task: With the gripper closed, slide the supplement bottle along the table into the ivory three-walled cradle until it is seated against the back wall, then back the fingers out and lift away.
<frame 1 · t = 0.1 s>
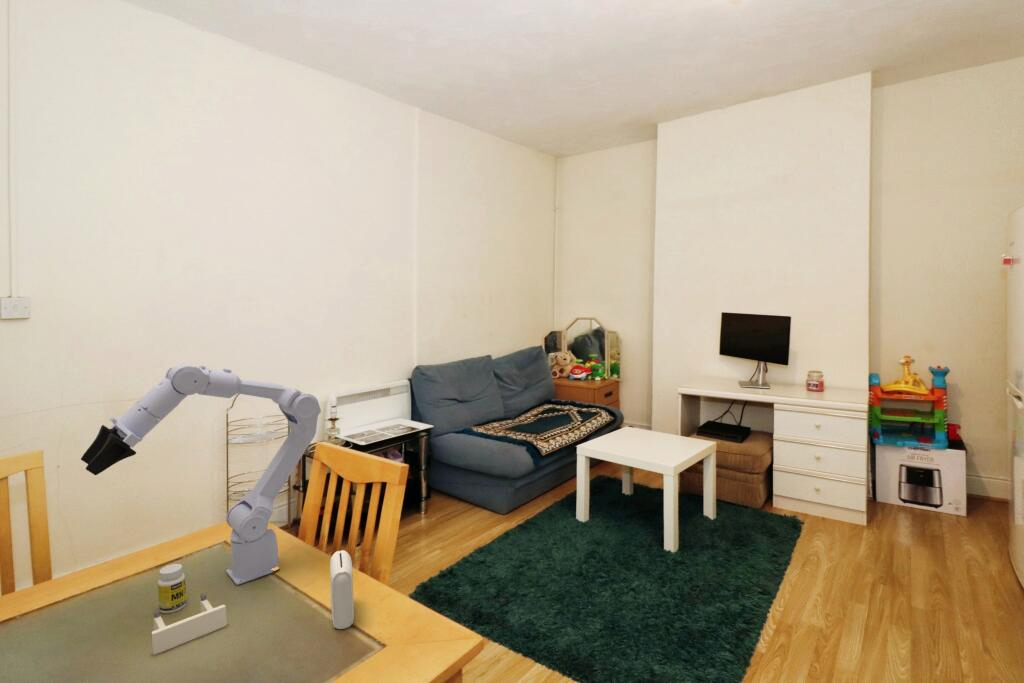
hand: (87, 467, 101), 32 cm above the table, tool tilted 50°, fingers open, 7 cm apart
supplement bottle: (173, 607, 110), on the table
photo printer: (342, 615, 107), on the table
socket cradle: (185, 628, 103), on the table
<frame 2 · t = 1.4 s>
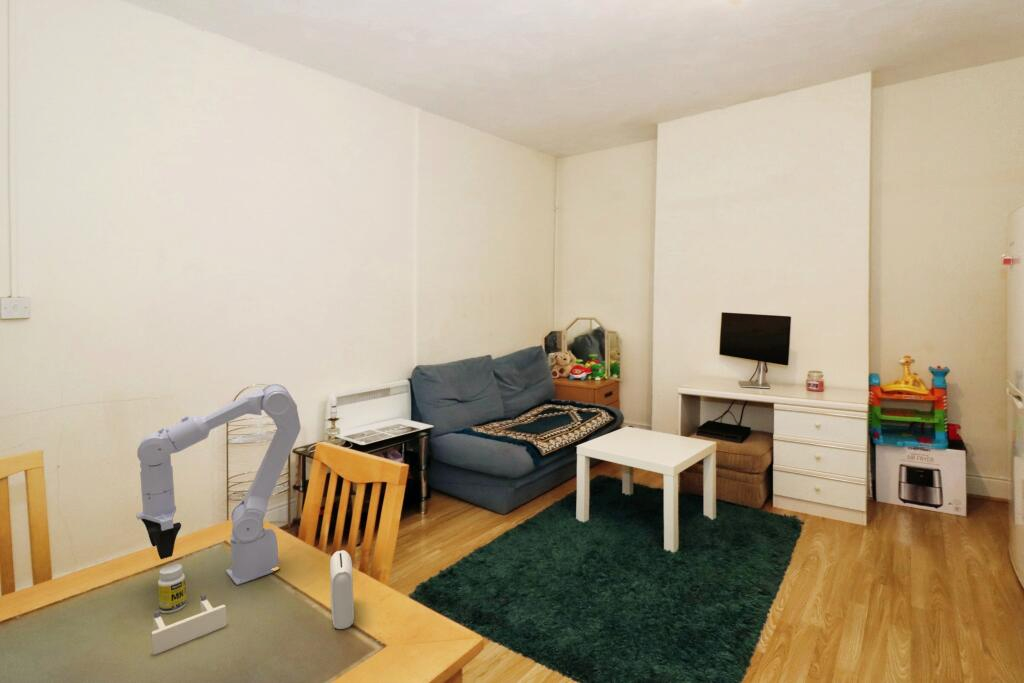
hand: (162, 550, 114), 9 cm above the table, tool pointing down, fingers open, 7 cm apart
nothing on the table moved.
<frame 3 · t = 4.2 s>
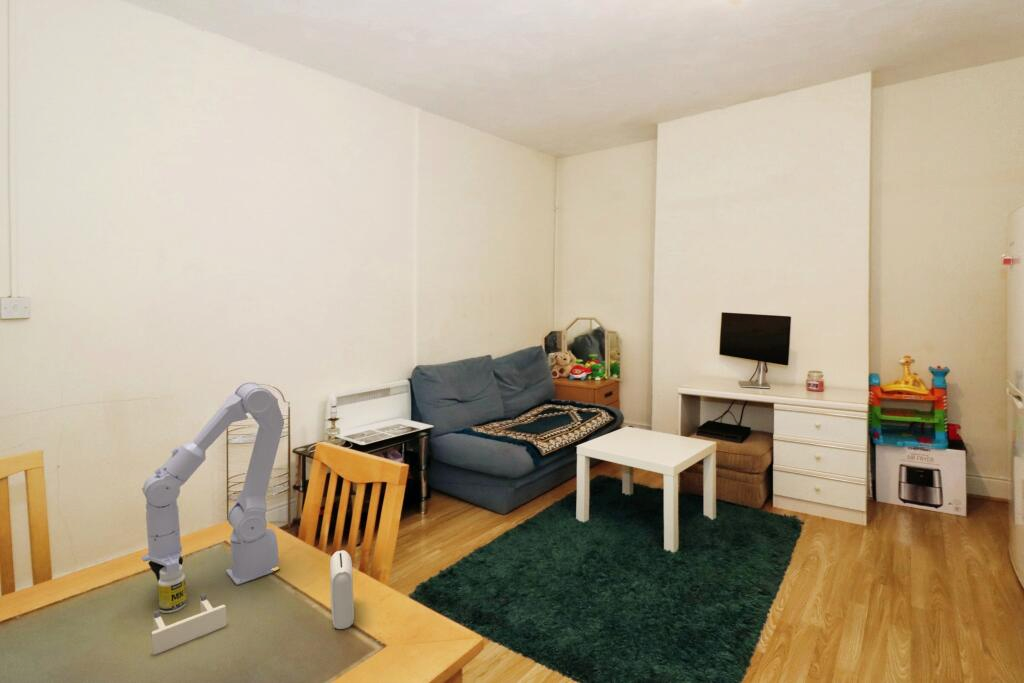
hand: (167, 591, 113), 1 cm above the table, tool pointing down, fingers closed
supplement bottle: (173, 607, 110), on the table, touching gripper
everything else where it was.
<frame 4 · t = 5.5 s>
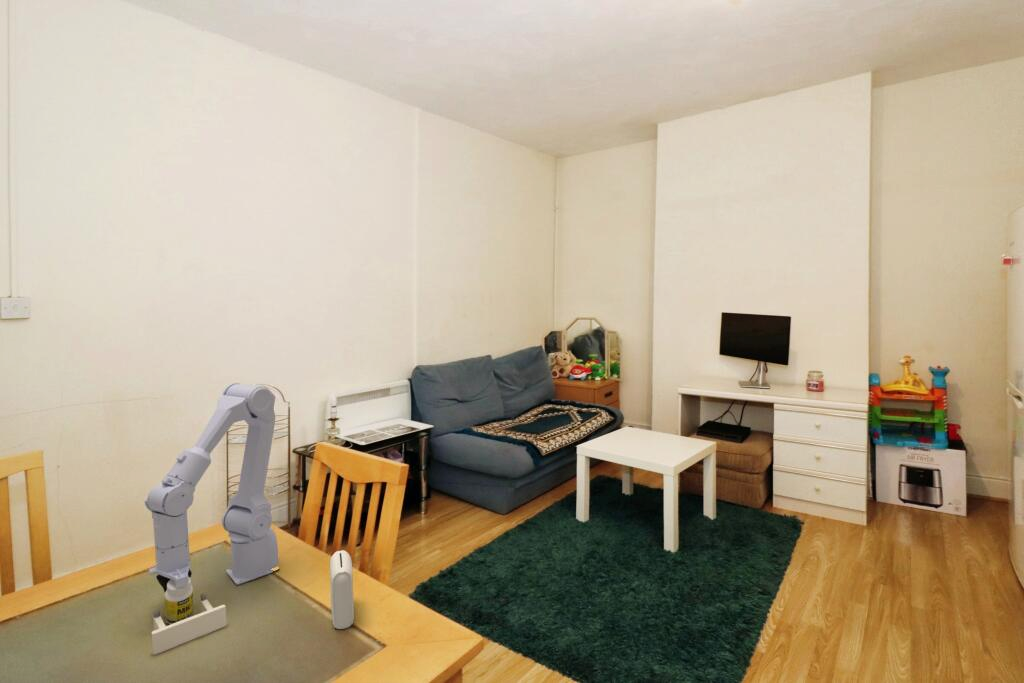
hand: (176, 606, 108), 1 cm above the table, tool pointing down, fingers closed, pressing on supplement bottle
supplement bottle: (179, 616, 106), on the table, touching gripper
everything else where it was.
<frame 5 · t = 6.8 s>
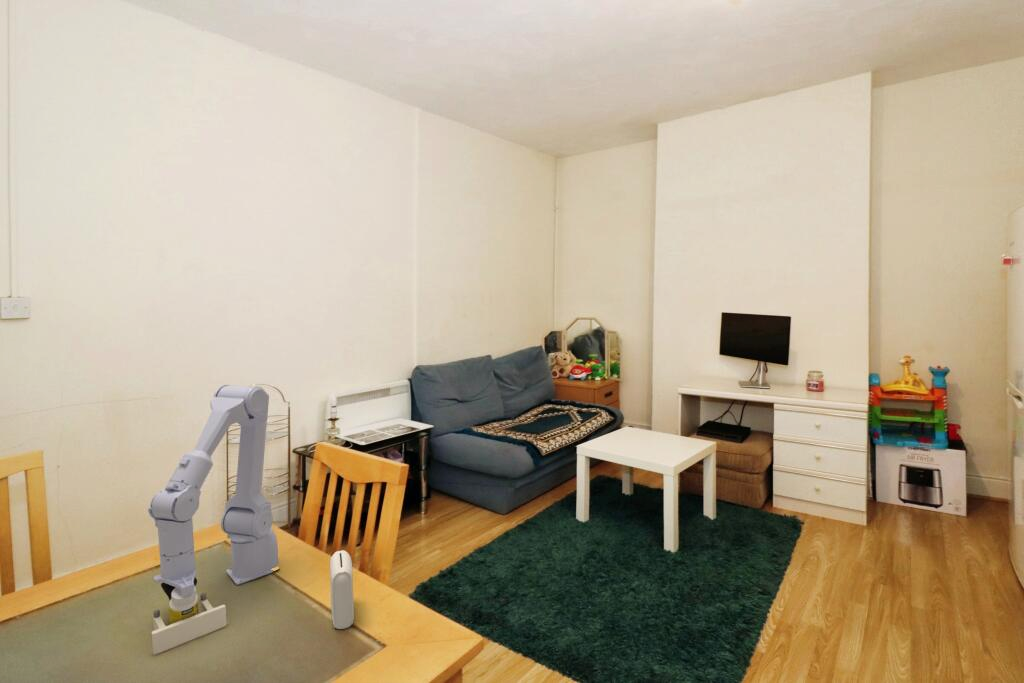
hand: (181, 615, 105), 1 cm above the table, tool pointing down, fingers closed, pressing on supplement bottle
supplement bottle: (183, 625, 103), on the table, touching gripper
everything else where it was.
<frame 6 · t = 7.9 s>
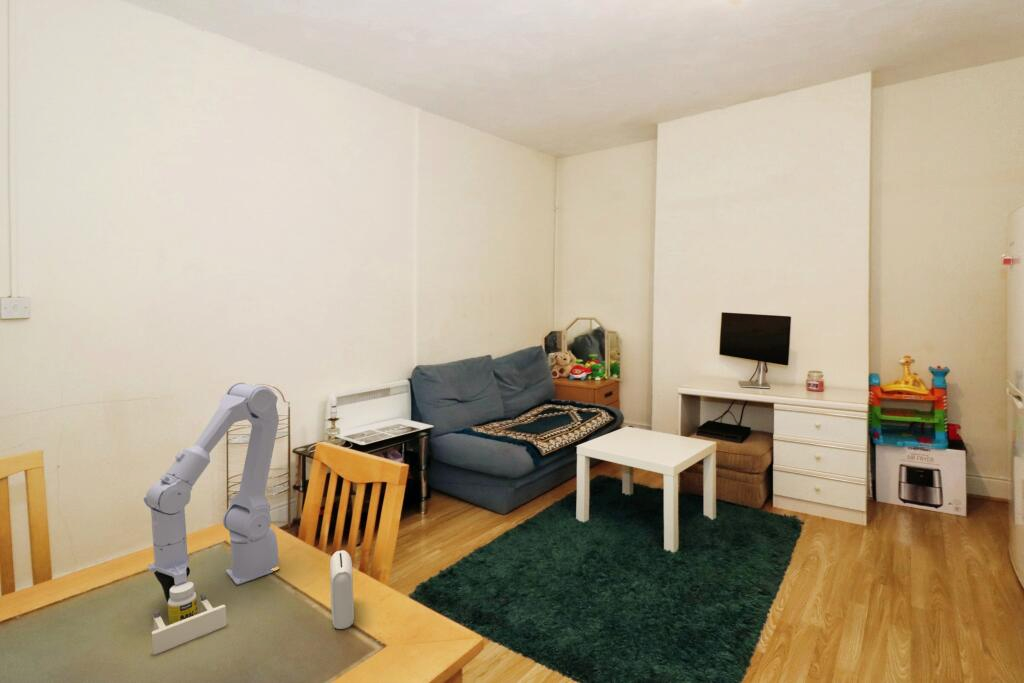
hand: (174, 602, 109), 1 cm above the table, tool pointing down, fingers closed
supplement bottle: (184, 628, 103), on the table
everything else where it was.
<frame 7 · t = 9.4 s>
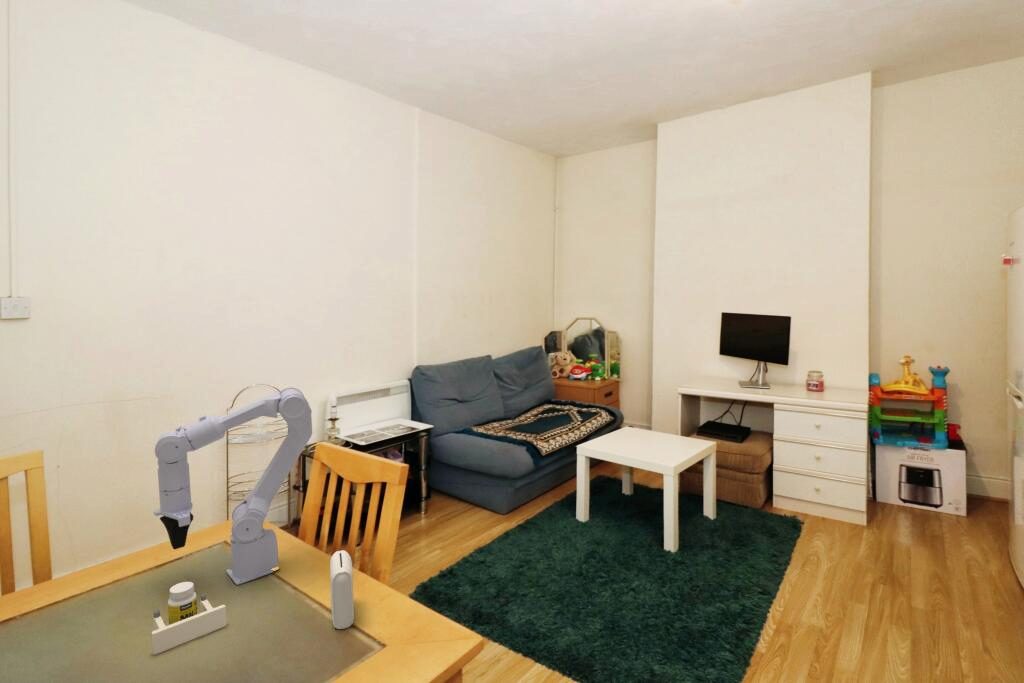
hand: (178, 547, 116), 9 cm above the table, tool pointing down, fingers closed
nothing on the table moved.
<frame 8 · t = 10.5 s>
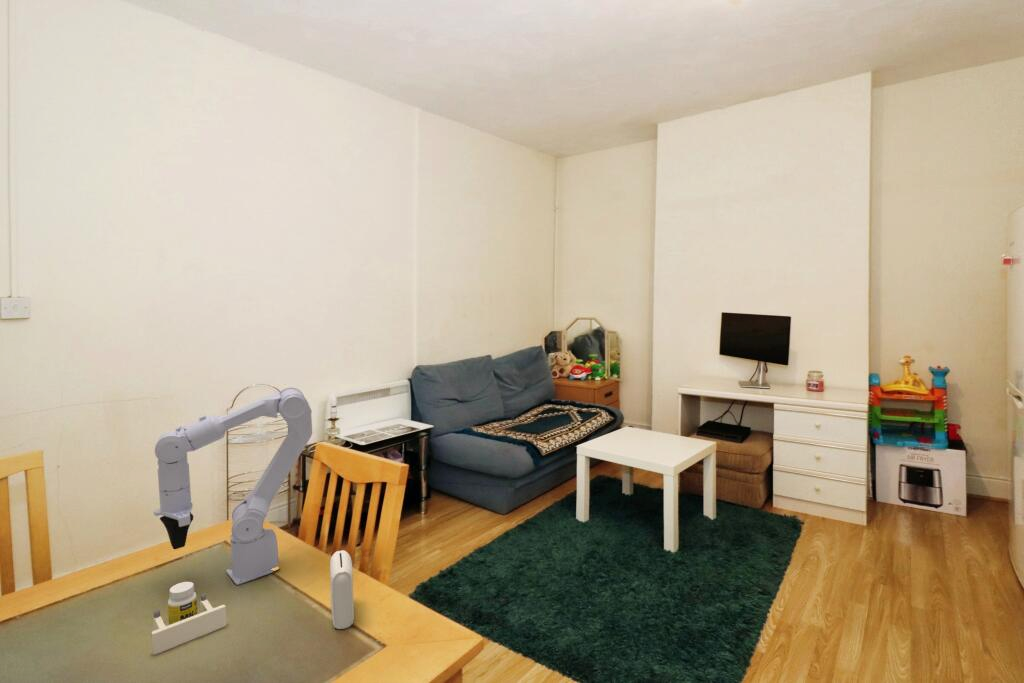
hand: (178, 547, 116), 9 cm above the table, tool pointing down, fingers closed
nothing on the table moved.
at the end: supplement bottle 1.0 cm off-centre on the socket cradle, point 0.0 cm above the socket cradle's base; supplement bottle tilted 0°; supplement bottle moved 9.4 cm from its start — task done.
